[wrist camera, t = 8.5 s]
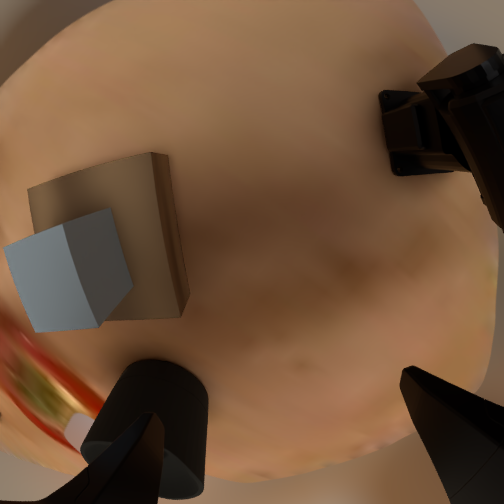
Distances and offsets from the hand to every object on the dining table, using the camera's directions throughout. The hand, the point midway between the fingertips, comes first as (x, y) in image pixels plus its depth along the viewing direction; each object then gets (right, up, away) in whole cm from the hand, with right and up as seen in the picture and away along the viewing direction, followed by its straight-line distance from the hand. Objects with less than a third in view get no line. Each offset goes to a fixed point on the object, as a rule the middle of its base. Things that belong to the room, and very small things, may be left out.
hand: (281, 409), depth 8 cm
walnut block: (-11, +7, +11) cm, 17 cm away
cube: (-11, +5, +7) cm, 14 cm away
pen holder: (-9, -8, +15) cm, 19 cm away
